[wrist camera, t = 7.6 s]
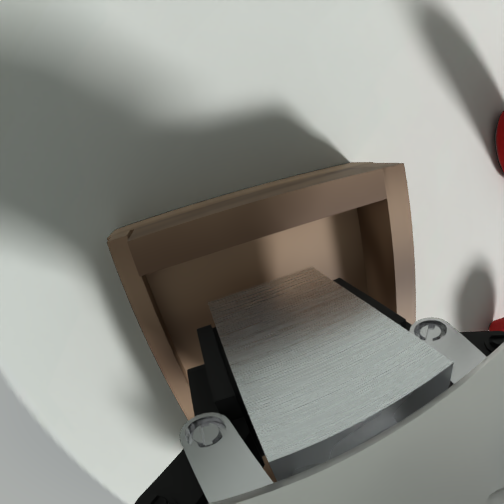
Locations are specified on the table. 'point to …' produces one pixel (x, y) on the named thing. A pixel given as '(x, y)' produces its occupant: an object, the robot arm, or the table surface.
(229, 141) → the table surface
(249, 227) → the wooden divided tray
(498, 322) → the strawberry
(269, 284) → the grey block
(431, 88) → the table surface
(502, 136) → the beverage can
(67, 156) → the table surface
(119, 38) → the table surface
